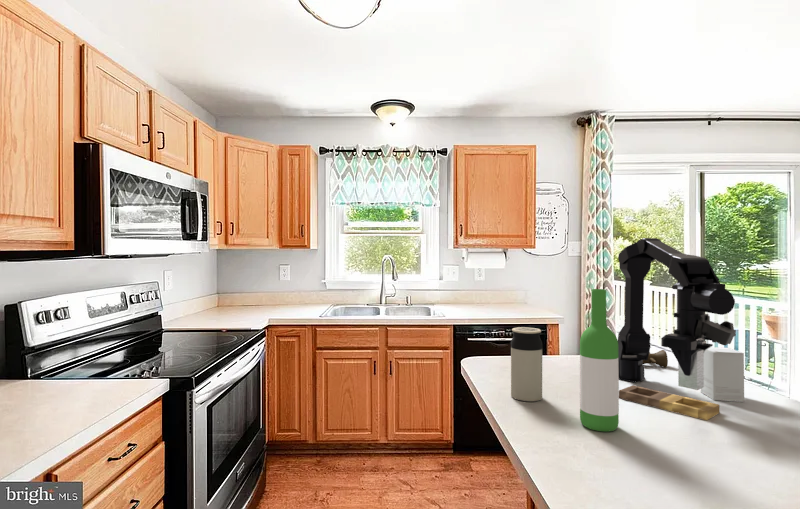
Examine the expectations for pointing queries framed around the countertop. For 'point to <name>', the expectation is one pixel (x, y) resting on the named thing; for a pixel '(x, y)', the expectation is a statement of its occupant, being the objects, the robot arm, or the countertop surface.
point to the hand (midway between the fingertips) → (691, 374)
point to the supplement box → (723, 374)
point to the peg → (693, 373)
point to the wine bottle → (599, 370)
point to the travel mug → (526, 364)
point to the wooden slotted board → (670, 402)
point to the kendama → (658, 358)
